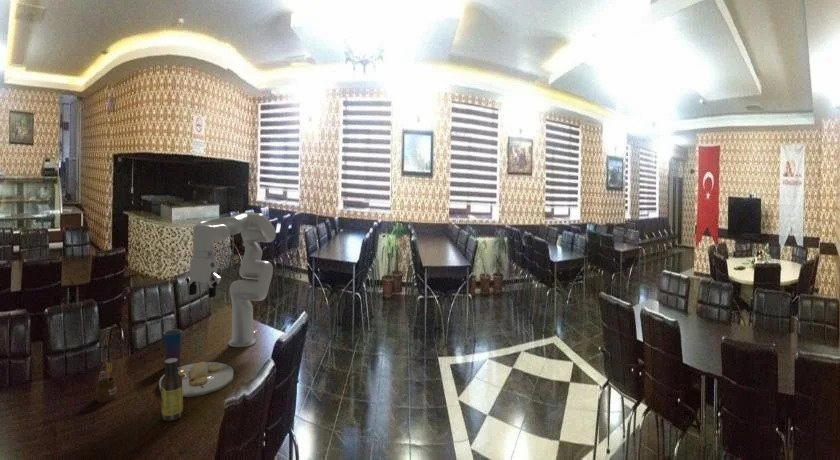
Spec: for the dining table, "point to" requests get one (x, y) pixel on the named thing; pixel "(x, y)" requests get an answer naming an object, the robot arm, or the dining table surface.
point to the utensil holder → (106, 387)
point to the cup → (173, 344)
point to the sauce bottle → (171, 391)
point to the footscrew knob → (198, 374)
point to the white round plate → (217, 379)
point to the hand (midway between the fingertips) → (202, 295)
